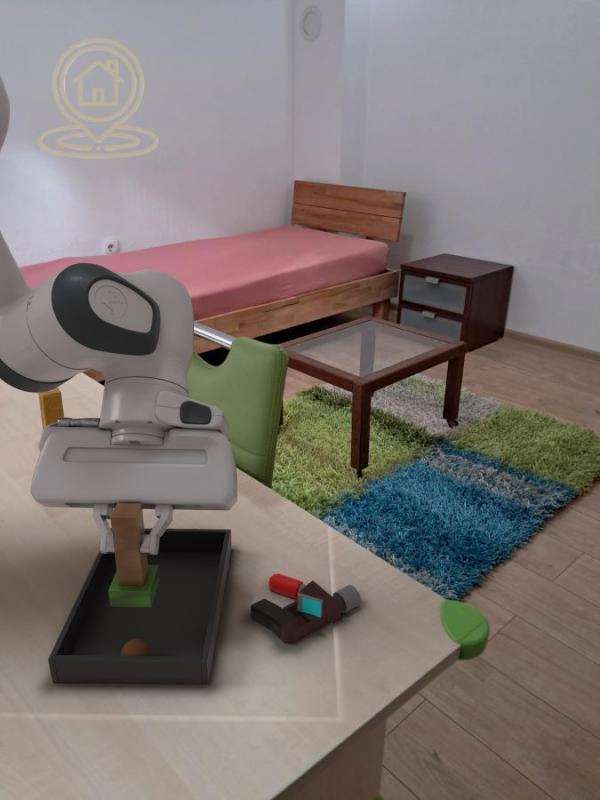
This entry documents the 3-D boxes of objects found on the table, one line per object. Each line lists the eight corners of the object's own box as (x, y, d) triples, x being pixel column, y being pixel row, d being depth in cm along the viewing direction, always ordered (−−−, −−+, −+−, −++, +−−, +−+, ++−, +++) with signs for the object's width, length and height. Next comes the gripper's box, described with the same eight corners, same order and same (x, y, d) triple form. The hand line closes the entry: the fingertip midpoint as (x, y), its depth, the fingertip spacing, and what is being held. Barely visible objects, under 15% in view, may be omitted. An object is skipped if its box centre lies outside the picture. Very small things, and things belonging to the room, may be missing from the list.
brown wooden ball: (114, 666, 61) (119, 634, 63) (121, 676, 63) (126, 645, 65) (146, 664, 61) (150, 633, 63) (152, 674, 63) (155, 644, 65)
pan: (53, 687, 62) (47, 659, 60) (113, 550, 81) (110, 527, 80) (208, 688, 62) (206, 661, 60) (231, 552, 81) (230, 529, 79)
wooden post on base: (110, 606, 62) (98, 522, 58) (121, 579, 66) (111, 498, 62) (151, 607, 62) (142, 523, 58) (159, 580, 66) (151, 498, 62)
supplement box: (70, 445, 107) (62, 391, 103) (49, 451, 105) (40, 396, 101) (65, 438, 109) (56, 384, 105) (44, 443, 107) (34, 389, 103)
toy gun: (370, 607, 72) (372, 573, 70) (286, 658, 65) (286, 622, 63) (316, 564, 79) (316, 532, 77) (235, 605, 72) (233, 571, 70)
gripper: (33, 406, 63) (8, 547, 58) (237, 410, 63) (230, 551, 58) (55, 426, 69) (34, 556, 64) (242, 430, 69) (236, 559, 64)
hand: (129, 554), depth 61 cm, fingers closed on wooden post on base, 2 cm apart
